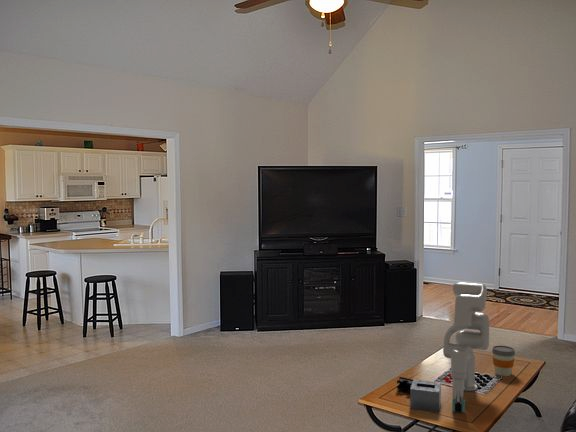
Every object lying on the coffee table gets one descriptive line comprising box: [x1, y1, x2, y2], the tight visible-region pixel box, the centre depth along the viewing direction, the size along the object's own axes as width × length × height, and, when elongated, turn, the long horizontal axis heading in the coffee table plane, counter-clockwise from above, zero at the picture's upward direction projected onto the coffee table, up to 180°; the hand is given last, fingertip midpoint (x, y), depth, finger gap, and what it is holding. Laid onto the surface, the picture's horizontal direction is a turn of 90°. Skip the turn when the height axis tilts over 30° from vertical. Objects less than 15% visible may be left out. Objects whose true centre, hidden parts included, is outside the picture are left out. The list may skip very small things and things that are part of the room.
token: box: [451, 397, 466, 414], centre depth 263 cm, size 2×6×6 cm, turn 71°
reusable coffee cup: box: [491, 345, 516, 377], centre depth 317 cm, size 12×13×15 cm
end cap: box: [396, 376, 413, 395], centre depth 290 cm, size 10×7×7 cm
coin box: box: [409, 378, 442, 413], centre depth 271 cm, size 14×14×10 cm
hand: (458, 410), depth 264 cm, fingers closed on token, 1 cm apart
